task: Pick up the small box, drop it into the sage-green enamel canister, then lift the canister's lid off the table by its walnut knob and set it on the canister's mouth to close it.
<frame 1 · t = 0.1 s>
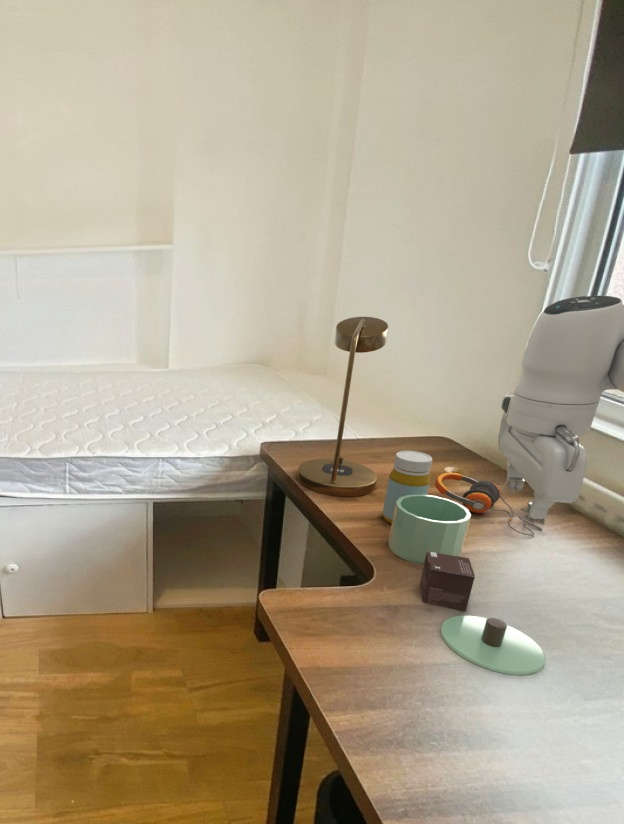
hand: (523, 501, 83), 20 cm above the table, tool pointing down, fingers open, 8 cm apart
bottle: (400, 521, 119), on the table
headphones: (485, 510, 120), on the table
lid: (490, 644, 83), point 1 cm above the table
canister: (422, 550, 108), on the table
box: (440, 600, 94), on the table
lamp: (337, 474, 141), on the table
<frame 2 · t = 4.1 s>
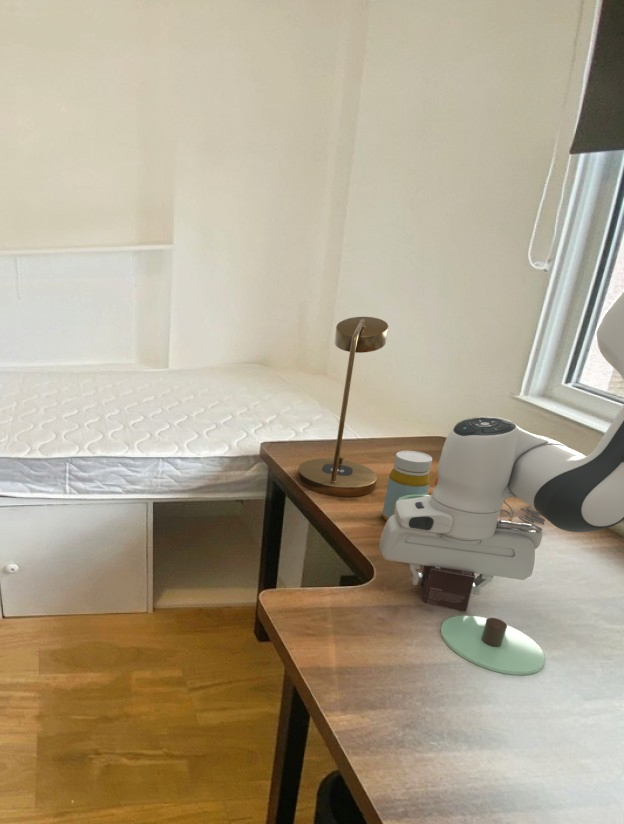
hand: (443, 588, 93), 2 cm above the table, tool pointing down, fingers closed on box, 6 cm apart
box: (440, 600, 94), on the table, touching gripper
everything else where it was.
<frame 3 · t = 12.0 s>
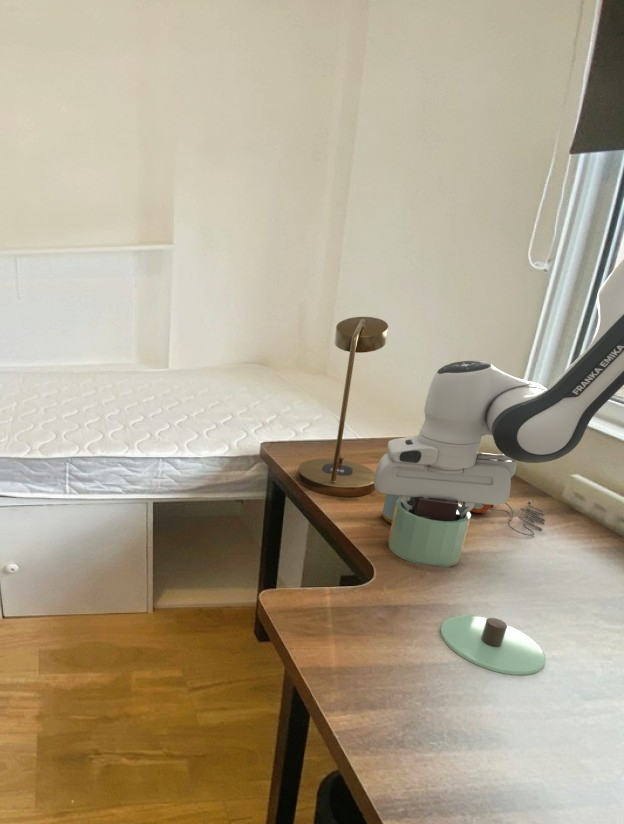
hand: (431, 517, 105), 7 cm above the table, tool pointing down, fingers closed on box, 6 cm apart
box: (429, 529, 106), point 5 cm above the table, touching gripper
everything else where it was.
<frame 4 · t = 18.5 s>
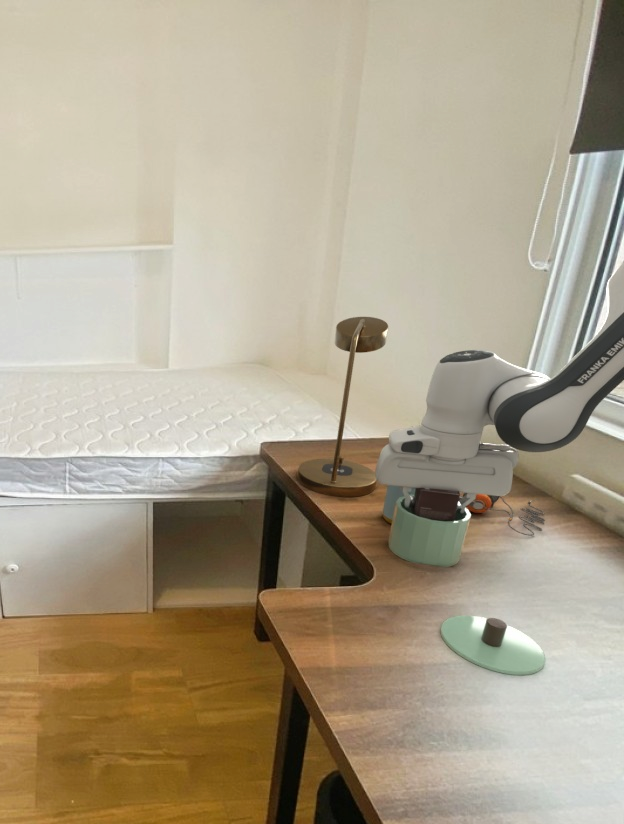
hand: (432, 509, 104), 9 cm above the table, tool pointing down, fingers closed on box, 6 cm apart
box: (430, 520, 105), point 7 cm above the table, touching gripper
everything else where it was.
when the fingers open (10 cm above the table, at t = 33.0 s): box drops 7 cm, resting on canister.
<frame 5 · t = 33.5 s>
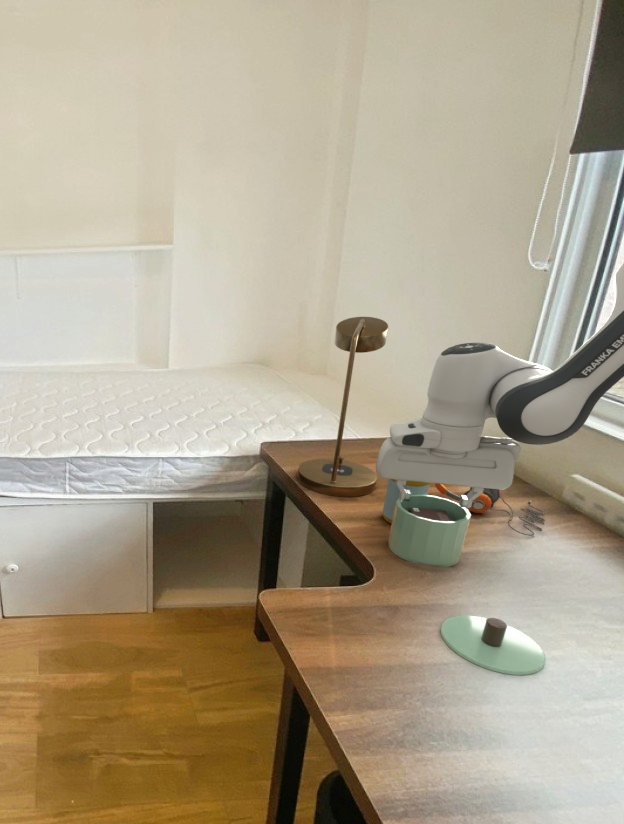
hand: (433, 502, 104), 11 cm above the table, tool pointing down, fingers open, 8 cm apart
box: (423, 549, 108), resting on canister
everything else where it was.
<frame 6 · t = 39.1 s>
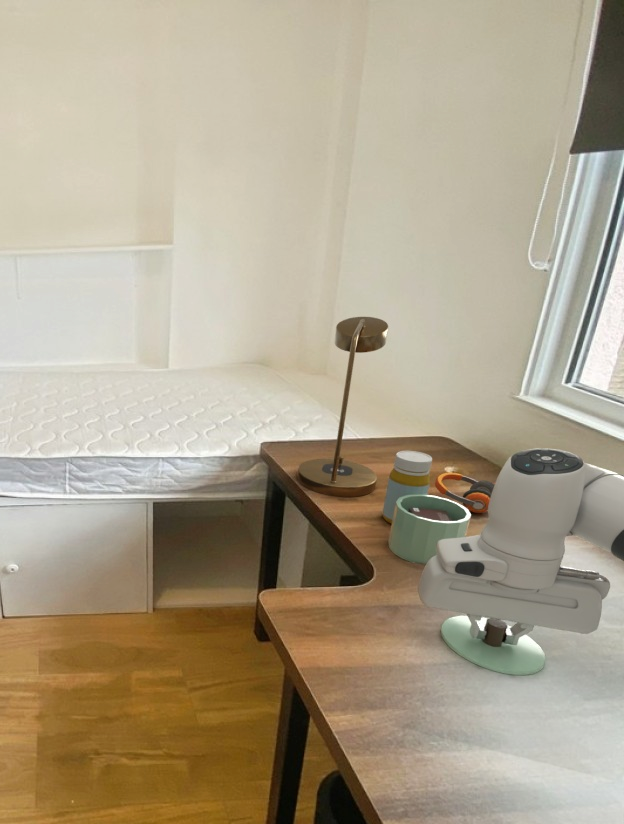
hand: (492, 638, 83), 2 cm above the table, tool pointing down, fingers closed on lid, 2 cm apart
lid: (490, 644, 83), point 1 cm above the table, touching gripper
everything else where it was.
when the fingers open (11 cm above the table, at t = 47.6 s): lid stays where it is, resting on canister.
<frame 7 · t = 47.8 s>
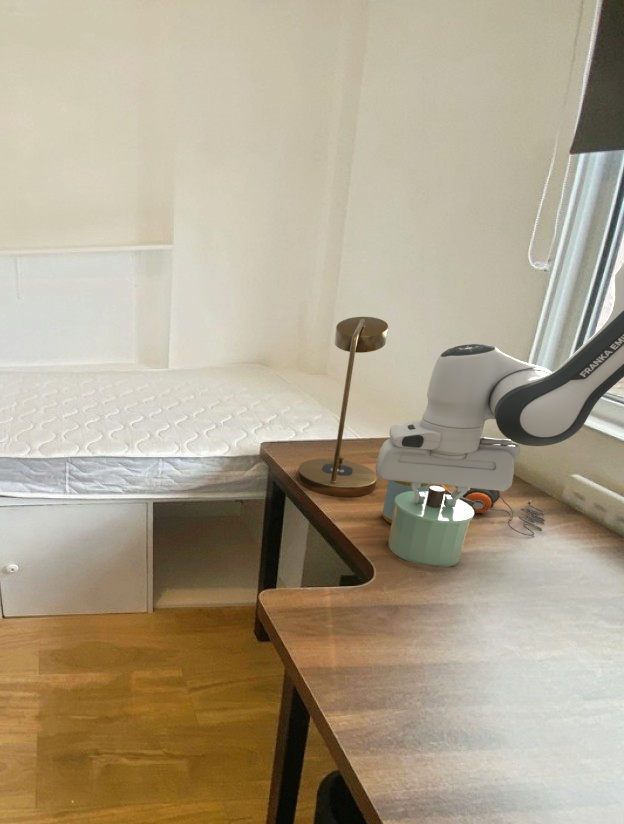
hand: (433, 504, 104), 10 cm above the table, tool pointing down, fingers open, 3 cm apart
lid: (432, 508, 104), point 9 cm above the table, touching canister
everything else where it was.
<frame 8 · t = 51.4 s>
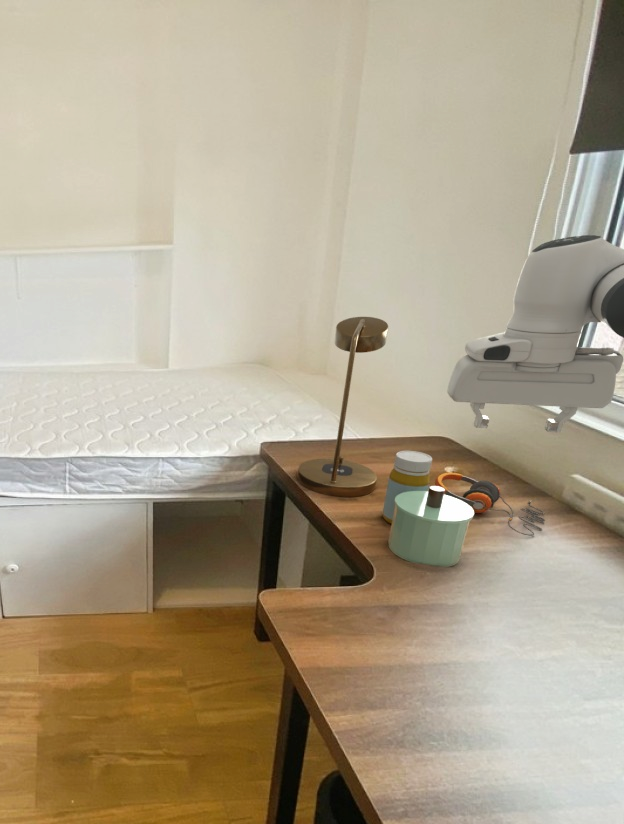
hand: (515, 429, 92), 27 cm above the table, tool pointing down, fingers open, 8 cm apart
nothing on the table moved.
at the end: box inside the target area in the canister (0.1 cm from its centre), point 0.3 cm above the canister's base; lid 0.0 cm off-centre on the canister, point 9.5 cm above the canister's base; lid tilted 0° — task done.
